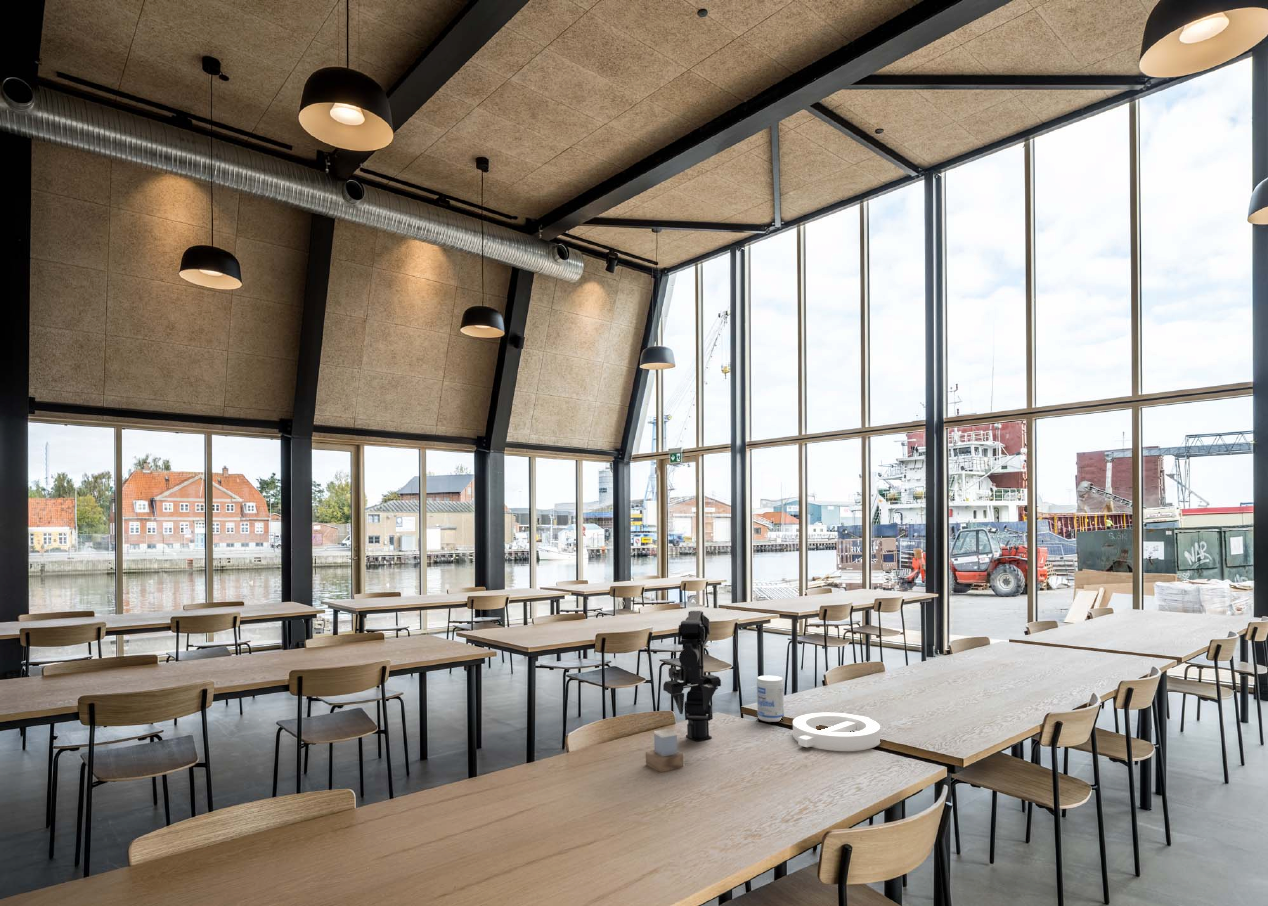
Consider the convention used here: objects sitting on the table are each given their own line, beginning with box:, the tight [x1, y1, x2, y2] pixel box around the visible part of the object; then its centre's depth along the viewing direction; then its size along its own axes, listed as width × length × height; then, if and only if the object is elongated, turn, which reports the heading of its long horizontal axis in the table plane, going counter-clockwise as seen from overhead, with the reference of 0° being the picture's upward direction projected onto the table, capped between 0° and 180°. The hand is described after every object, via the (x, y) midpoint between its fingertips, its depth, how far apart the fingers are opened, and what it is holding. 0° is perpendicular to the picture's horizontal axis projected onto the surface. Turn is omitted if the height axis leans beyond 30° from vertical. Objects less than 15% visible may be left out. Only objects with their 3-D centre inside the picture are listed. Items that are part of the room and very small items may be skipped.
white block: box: [653, 728, 678, 757], centre depth 212 cm, size 5×5×6 cm
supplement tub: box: [756, 674, 785, 723], centre depth 259 cm, size 10×10×15 cm
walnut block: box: [645, 749, 684, 773], centre depth 211 cm, size 8×8×4 cm
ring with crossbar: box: [792, 712, 882, 752], centre depth 235 cm, size 28×28×5 cm
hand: (693, 711), depth 224 cm, fingers open, 9 cm apart
